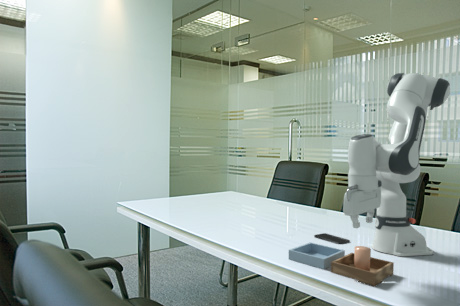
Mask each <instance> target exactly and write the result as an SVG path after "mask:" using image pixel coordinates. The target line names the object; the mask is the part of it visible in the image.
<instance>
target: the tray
mask: <svg viewBox="0 0 460 306" xmlns="http://www.w3.org/2000/svg"><path fill="white" fill-rule="evenodd" d="M394 264H395V262H393V261H389V260H384V259H381V258H376V257H372V256H371V257H370V271H367V270H363V269H359V268H355V267H354V252H350V253H347V254H345V256H343V257H341V258H339V259H337V260H334V261H332V262H331V266H330V273H333V274H336V275H340V276H343V277H346V278H349V279H353V280H355V281H358V282H357V283H360V282H361V284H364V283H365V285H367V284H369V285H368V286H370V285H372V286H371V287H374V286H375V287H377V286H378V285H380V284H381V283H383V282H382V281H384V280H385V279H386V278H388V277H392V276H394V268H395V267H394ZM379 283H380V284H379ZM376 285H377V286H376Z"/></svg>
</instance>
